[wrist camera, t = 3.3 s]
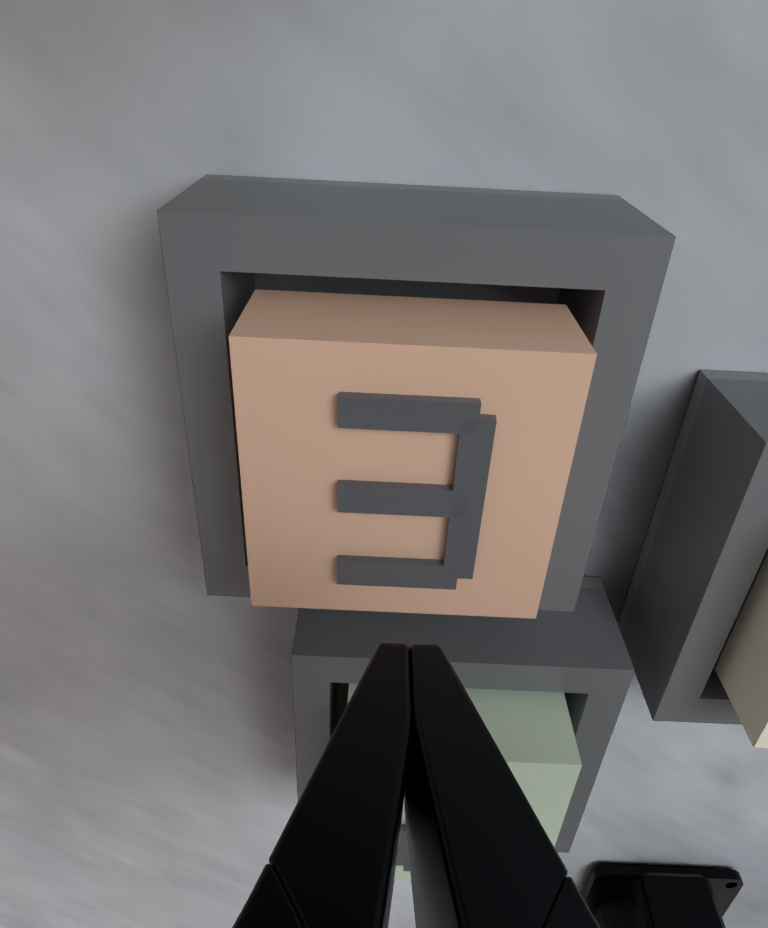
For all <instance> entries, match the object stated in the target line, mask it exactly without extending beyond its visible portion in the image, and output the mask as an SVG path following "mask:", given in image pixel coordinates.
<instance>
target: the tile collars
mask: <svg viewBox="0 0 768 928" xmlns="http://www.w3.org/2000/svg"><path fill="white" fill-rule="evenodd" d="M157 215H158V222H159V230H160V238H161V245H162V253H163V260H164V268H165V276H166V283H167V291H168V298H169V306H170V314H171V321H172V329H173V337H174V344H175V352H176V359H177V367H178V375H179V382H180V390H181V397H182V405H183V413H184V420H185V428H186V435H187V443H188V451H189V458H190V466H191V473H192V481H193V489H194V496H195V504H196V512H197V519H198V527H199V534H200V542H201V550H202V557H203V565H204V572H205V580H206V588H207V595H218V596H240V597H251V594H250V583H249V571H248V559H247V547H246V535H245V524H244V512H243V500H242V488H241V476H240V464H239V453H238V441H237V429H236V417H235V405H234V394H233V382H232V370H231V358H230V346H229V335H230V333H231V331H232V329H233V328H234V326H235V324H236V322H237V321H238V319H239V317H240V315H241V314H242V312H243V310H244V308H245V306H246V305H247V303H248V301H249V299H250V298H251V296H252V294H253V292H254V291H255V289H260V290H280V291H301V292H321V293H341V294H361V295H382V296H402V297H422V298H442V299H463V300H483V301H503V302H523V303H544V304H564V305H567V307H568V309H569V310H570V312H571V313H572V315H573V317H574V318H575V320H576V321H577V323H578V325H579V326H580V328H581V329H582V331H583V332H584V334H585V336H586V337H587V339H588V340H589V342H590V344H591V345H592V347H593V348H594V350H595V352H596V353H597V357H596V361H595V365H594V370H593V374H592V378H591V383H590V387H589V391H588V396H587V400H586V404H585V409H584V413H583V417H582V422H581V426H580V430H579V435H578V439H577V443H576V448H575V452H574V456H573V460H572V465H571V469H570V473H569V478H568V482H567V486H566V491H565V495H564V499H563V504H562V508H561V512H560V517H559V521H558V525H557V530H556V534H555V538H554V543H553V547H552V551H551V556H550V560H549V564H548V569H547V573H546V577H545V581H544V586H543V590H542V594H541V599H540V603H539V607H538V612H537V616H536V619H533V618H511V617H489V616H467V615H445V614H423V613H401V612H379V611H356V610H334V609H312V608H300V609H299V615H298V621H297V627H296V632H295V638H294V644H293V650H292V676H293V699H294V723H295V746H296V769H297V793H298V801H299V799H300V797H301V795H302V793H303V791H304V789H305V787H306V785H307V783H308V781H309V779H310V777H311V775H312V773H313V771H314V769H315V767H316V765H317V763H318V761H319V760H320V758H321V756H322V754H323V752H324V750H325V748H326V746H327V744H328V742H329V740H330V738H331V736H332V734H333V732H334V730H335V728H336V726H337V724H338V722H339V720H340V718H341V716H342V714H343V712H344V710H345V708H346V706H347V704H348V690H349V683H359V681H360V679H361V677H362V675H363V673H364V671H365V669H366V667H367V665H368V663H369V661H370V659H371V657H372V655H373V653H374V651H375V649H376V647H377V646H378V645H379V643H381V642H404V643H407V644H408V646H409V649H410V646H411V645H412V644H413V643H426V644H438V645H439V646H441V648H442V649H443V651H444V652H445V654H446V656H447V658H448V659H449V661H450V663H451V665H452V667H453V668H454V670H455V672H456V674H457V675H458V677H459V679H460V681H461V683H462V684H463V686H464V688H471V689H493V690H516V691H539V692H561V693H564V695H565V699H566V703H567V707H568V711H569V715H570V719H571V723H572V727H573V731H574V735H575V739H576V743H577V747H578V751H579V755H580V759H581V763H582V767H581V770H580V773H579V776H578V779H577V782H576V785H575V788H574V791H573V794H572V797H571V799H570V802H569V805H568V808H567V811H566V814H565V817H564V820H563V823H562V826H561V829H560V832H559V835H558V838H557V841H556V844H555V847H554V848H555V850H556V851H557V852H568V853H569V850H570V848H571V845H572V842H573V839H574V837H575V834H576V831H577V828H578V826H579V823H580V820H581V817H582V815H583V812H584V809H585V806H586V804H587V801H588V798H589V795H590V793H591V790H592V787H593V784H594V782H595V779H596V776H597V773H598V771H599V768H600V765H601V762H602V760H603V757H604V754H605V751H606V748H607V746H608V743H609V740H610V737H611V735H612V732H613V729H614V726H615V724H616V721H617V718H618V715H619V713H620V710H621V707H622V704H623V702H624V699H625V696H626V693H627V691H628V688H629V685H630V682H631V680H632V677H633V674H634V671H635V674H636V676H637V679H638V682H639V684H640V687H641V690H642V692H643V695H644V698H645V700H646V703H647V706H648V709H649V711H650V714H651V717H652V719H653V721H675V722H698V723H721V724H742V723H741V721H740V719H739V717H738V715H737V713H736V711H735V709H734V707H733V705H732V703H731V701H730V699H729V697H728V695H727V693H726V691H725V689H724V687H723V685H722V683H721V681H720V679H719V677H718V675H717V673H716V671H715V667H716V665H717V663H718V661H719V659H720V656H721V654H722V652H723V650H724V648H725V646H726V643H727V641H728V639H729V637H730V635H731V632H732V630H733V628H734V626H735V624H736V621H737V619H738V617H739V615H740V613H741V610H742V608H743V606H744V604H745V602H746V600H747V597H748V595H749V593H750V591H751V589H752V586H753V584H754V582H755V580H756V578H757V575H758V573H759V571H760V569H761V567H762V564H763V562H764V560H765V558H766V556H767V554H768V373H758V372H737V371H717V370H700V372H699V375H698V378H697V381H696V384H695V387H694V390H693V393H692V396H691V399H690V402H689V406H688V409H687V412H686V415H685V418H684V421H683V424H682V427H681V430H680V433H679V436H678V439H677V443H676V446H675V449H674V452H673V455H672V458H671V461H670V464H669V467H668V470H667V473H666V476H665V480H664V483H663V486H662V489H661V492H660V495H659V498H658V501H657V504H656V507H655V510H654V513H653V516H652V520H651V523H650V526H649V529H648V532H647V535H646V538H645V541H644V544H643V547H642V550H641V553H640V557H639V560H638V563H637V566H636V569H635V572H634V575H633V578H632V581H631V584H630V587H629V590H628V594H627V597H626V600H625V603H624V606H623V609H622V612H621V615H620V618H619V621H618V624H617V621H616V619H615V616H614V613H613V611H612V608H611V605H610V602H609V600H608V597H607V594H606V592H605V589H604V586H603V584H602V581H601V578H600V577H588V576H584V573H585V569H586V565H587V561H588V558H589V554H590V550H591V547H592V543H593V539H594V536H595V532H596V528H597V525H598V521H599V517H600V514H601V510H602V506H603V503H604V499H605V495H606V492H607V488H608V484H609V480H610V477H611V473H612V469H613V466H614V462H615V458H616V455H617V451H618V447H619V444H620V440H621V436H622V433H623V429H624V425H625V422H626V418H627V414H628V411H629V407H630V403H631V400H632V396H633V392H634V388H635V385H636V381H637V377H638V374H639V370H640V366H641V363H642V359H643V355H644V352H645V348H646V344H647V341H648V337H649V333H650V330H651V326H652V322H653V319H654V315H655V311H656V307H657V304H658V300H659V296H660V293H661V289H662V285H663V282H664V278H665V274H666V271H667V267H668V263H669V260H670V256H671V252H672V249H673V245H674V241H675V238H676V237H675V236H674V235H673V234H671V233H670V232H668V231H667V230H666V229H664V228H663V227H661V226H660V225H659V224H657V223H656V222H654V221H653V220H652V219H650V218H649V217H648V216H646V215H645V214H643V213H642V212H641V211H639V210H638V209H636V208H635V207H634V206H632V205H631V204H629V203H628V202H627V201H625V200H624V199H622V198H621V197H620V196H618V195H598V194H579V193H559V192H539V191H520V190H500V189H481V188H461V187H441V186H422V185H402V184H382V183H363V182H343V181H323V180H304V179H284V178H265V177H245V176H225V175H206V176H204V177H203V178H202V179H200V180H199V181H197V182H196V183H195V184H193V185H192V186H190V187H189V188H188V189H186V190H185V191H184V192H182V193H181V194H179V195H178V196H177V197H175V198H174V199H172V200H171V201H170V202H168V203H167V204H165V205H164V206H163V207H161V208H160V209H158V210H157Z"/></svg>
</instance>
